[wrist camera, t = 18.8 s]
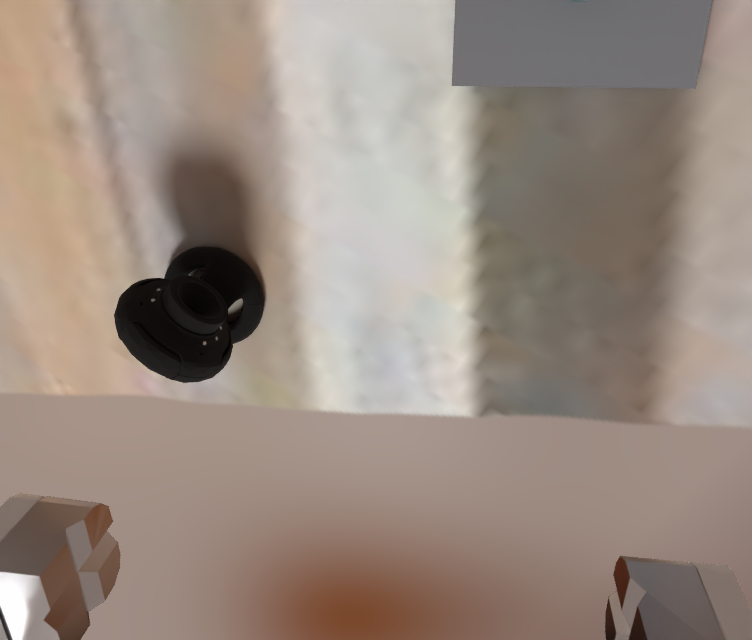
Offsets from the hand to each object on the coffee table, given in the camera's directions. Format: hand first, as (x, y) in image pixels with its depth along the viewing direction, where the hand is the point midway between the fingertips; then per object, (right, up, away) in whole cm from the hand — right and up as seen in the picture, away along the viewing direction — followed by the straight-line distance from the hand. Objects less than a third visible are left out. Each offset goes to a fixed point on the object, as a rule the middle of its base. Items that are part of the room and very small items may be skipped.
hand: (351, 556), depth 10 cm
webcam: (-11, +6, +36) cm, 38 cm away
